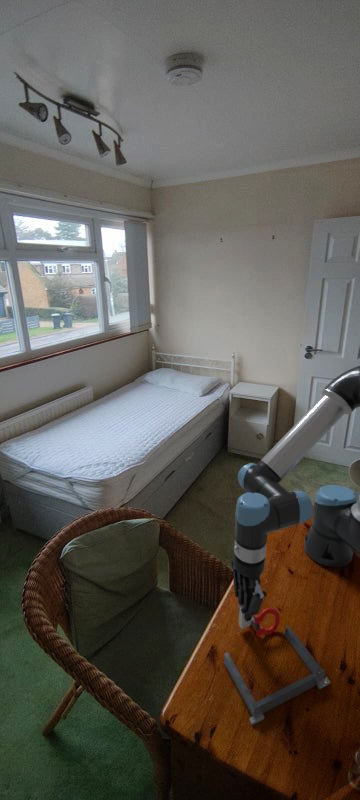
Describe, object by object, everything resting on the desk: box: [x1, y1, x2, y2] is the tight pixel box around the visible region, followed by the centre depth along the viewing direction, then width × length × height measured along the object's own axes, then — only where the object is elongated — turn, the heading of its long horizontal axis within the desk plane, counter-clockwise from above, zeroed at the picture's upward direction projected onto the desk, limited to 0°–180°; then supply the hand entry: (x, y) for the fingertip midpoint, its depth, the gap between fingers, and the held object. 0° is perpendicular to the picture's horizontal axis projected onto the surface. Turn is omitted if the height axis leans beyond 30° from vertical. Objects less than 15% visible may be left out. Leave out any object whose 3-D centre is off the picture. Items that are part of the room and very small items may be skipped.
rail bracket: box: [223, 625, 331, 726], centre depth 89 cm, size 21×14×3 cm, turn 113°
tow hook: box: [237, 604, 281, 638], centre depth 103 cm, size 7×10×7 cm
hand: (244, 624), depth 99 cm, fingers closed
